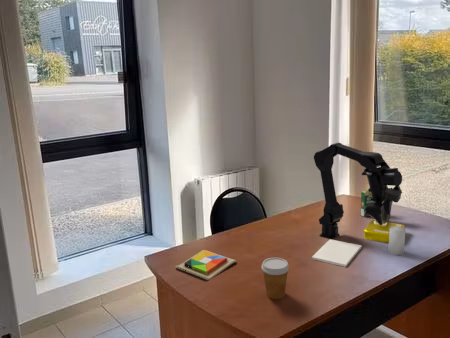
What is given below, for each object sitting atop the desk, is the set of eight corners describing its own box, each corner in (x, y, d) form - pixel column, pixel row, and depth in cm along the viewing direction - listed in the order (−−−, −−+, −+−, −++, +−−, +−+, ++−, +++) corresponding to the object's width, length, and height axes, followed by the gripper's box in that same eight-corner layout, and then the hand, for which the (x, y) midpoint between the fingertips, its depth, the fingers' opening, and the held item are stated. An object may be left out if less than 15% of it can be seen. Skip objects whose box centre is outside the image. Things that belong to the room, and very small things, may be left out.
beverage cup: (375, 224, 213) (377, 184, 208) (376, 218, 219) (378, 180, 214) (391, 225, 210) (393, 185, 205) (392, 220, 217) (394, 181, 212)
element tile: (362, 239, 197) (363, 229, 196) (371, 227, 210) (371, 218, 208) (398, 245, 190) (398, 235, 188) (404, 233, 202) (405, 223, 201)
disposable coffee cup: (286, 286, 160) (286, 256, 157) (291, 301, 151) (291, 268, 148) (260, 288, 160) (259, 257, 157) (263, 302, 150) (262, 270, 147)
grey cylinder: (385, 252, 183) (387, 229, 181) (392, 247, 187) (393, 225, 185) (400, 256, 179) (401, 233, 176) (406, 251, 183) (407, 228, 181)
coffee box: (363, 217, 221) (364, 192, 218) (359, 215, 224) (360, 191, 221) (376, 215, 224) (377, 190, 221) (372, 213, 227) (373, 188, 224)
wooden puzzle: (174, 269, 177) (173, 261, 176) (205, 252, 191) (205, 245, 190) (206, 282, 166) (206, 273, 166) (237, 263, 180) (237, 255, 179)
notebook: (311, 259, 180) (311, 256, 180) (329, 241, 196) (329, 239, 196) (345, 266, 172) (345, 264, 172) (361, 247, 188) (361, 245, 188)
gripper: (389, 192, 165) (397, 230, 169) (403, 174, 179) (411, 209, 183) (360, 194, 173) (369, 230, 176) (376, 176, 186) (384, 209, 190)
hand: (385, 219), depth 181 cm, fingers open, 9 cm apart
